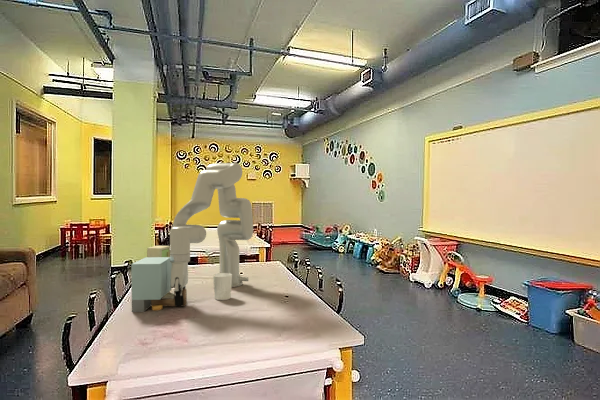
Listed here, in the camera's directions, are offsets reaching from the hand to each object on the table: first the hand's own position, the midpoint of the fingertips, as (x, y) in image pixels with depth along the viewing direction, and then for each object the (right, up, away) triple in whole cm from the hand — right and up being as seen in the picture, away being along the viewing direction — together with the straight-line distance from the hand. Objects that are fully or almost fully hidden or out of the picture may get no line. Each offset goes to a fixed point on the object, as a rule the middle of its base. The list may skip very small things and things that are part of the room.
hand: (180, 303), depth 157 cm
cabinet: (-11, -1, +1) cm, 11 cm away
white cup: (+14, -1, +12) cm, 19 cm away
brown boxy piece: (-4, 0, 0) cm, 5 cm away
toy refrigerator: (-15, -1, +20) cm, 25 cm away
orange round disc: (-8, -1, -4) cm, 9 cm away
